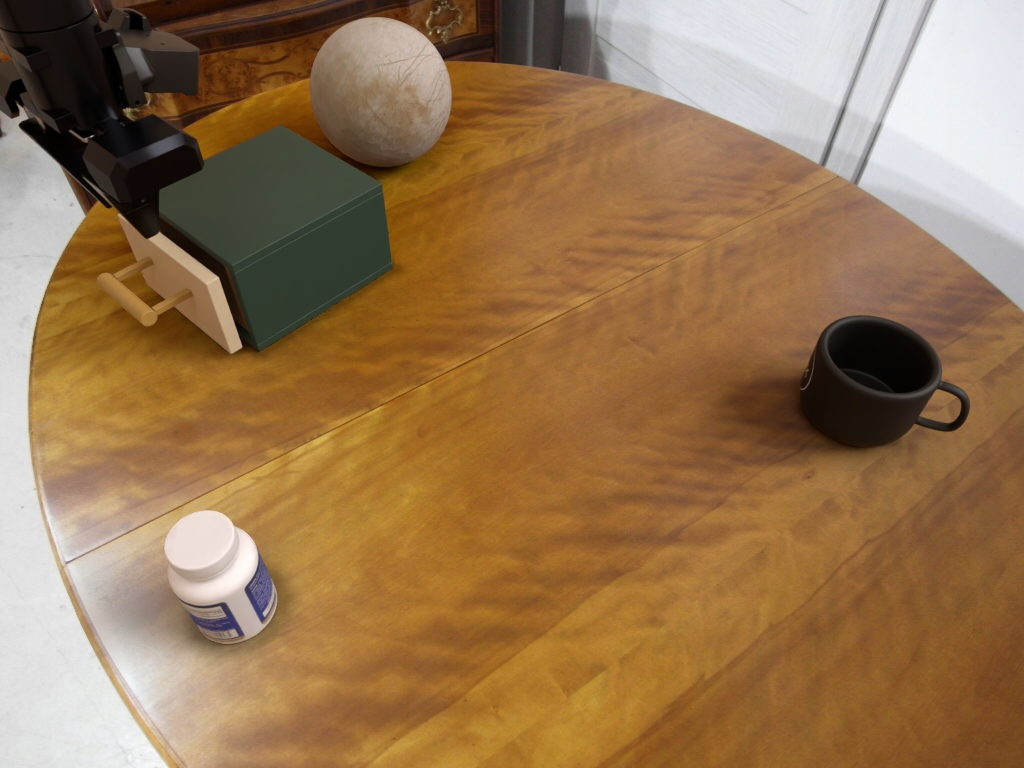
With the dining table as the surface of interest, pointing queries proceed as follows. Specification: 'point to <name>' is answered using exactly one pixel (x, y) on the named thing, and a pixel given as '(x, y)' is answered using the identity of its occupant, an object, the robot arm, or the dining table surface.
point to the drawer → (179, 284)
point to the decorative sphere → (380, 92)
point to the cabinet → (283, 228)
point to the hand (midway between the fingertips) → (132, 220)
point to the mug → (873, 382)
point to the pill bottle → (219, 577)
